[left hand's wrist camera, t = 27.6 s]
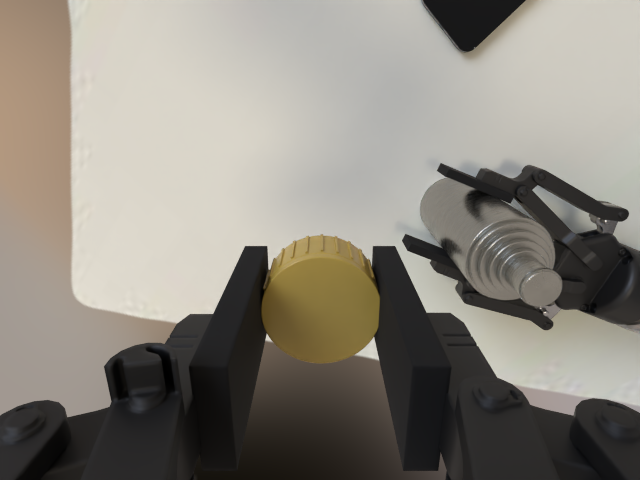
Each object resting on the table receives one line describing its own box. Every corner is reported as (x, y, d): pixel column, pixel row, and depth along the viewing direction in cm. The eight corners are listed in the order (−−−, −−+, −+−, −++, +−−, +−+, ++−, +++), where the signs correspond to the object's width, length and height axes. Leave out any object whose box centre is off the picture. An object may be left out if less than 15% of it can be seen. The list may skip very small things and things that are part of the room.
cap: (339, 212, 14) (343, 231, 12) (395, 300, 15) (406, 330, 13) (245, 268, 14) (234, 294, 12) (304, 348, 15) (302, 383, 14)
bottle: (477, 236, 46) (582, 335, 28) (417, 235, 46) (482, 334, 28) (486, 177, 44) (607, 241, 26) (423, 176, 44) (498, 240, 26)
